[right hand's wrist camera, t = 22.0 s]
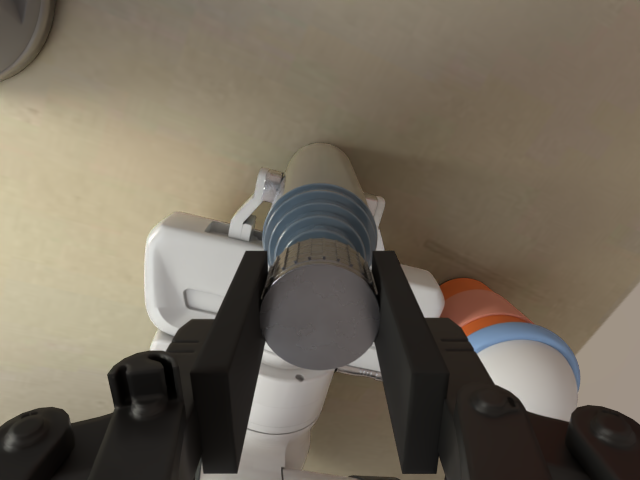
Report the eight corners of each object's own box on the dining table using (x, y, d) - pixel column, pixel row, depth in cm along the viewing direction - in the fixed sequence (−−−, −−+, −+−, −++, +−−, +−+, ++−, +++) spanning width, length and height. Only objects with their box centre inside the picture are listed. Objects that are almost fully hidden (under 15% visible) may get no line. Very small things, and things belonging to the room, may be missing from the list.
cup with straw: (531, 306, 36) (714, 494, 20) (452, 367, 39) (555, 583, 22) (466, 240, 34) (608, 388, 17) (387, 309, 37) (444, 499, 20)
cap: (299, 215, 14) (295, 239, 11) (395, 269, 14) (408, 300, 12) (246, 303, 15) (235, 339, 13) (337, 349, 15) (340, 390, 13)
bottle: (276, 195, 33) (215, 348, 14) (300, 131, 31) (267, 203, 12) (338, 218, 34) (363, 395, 14) (364, 157, 32) (433, 265, 13)
